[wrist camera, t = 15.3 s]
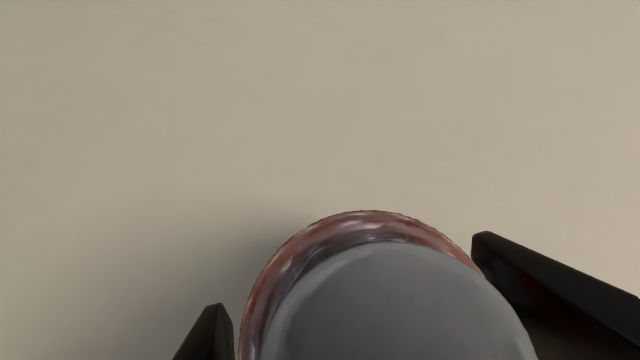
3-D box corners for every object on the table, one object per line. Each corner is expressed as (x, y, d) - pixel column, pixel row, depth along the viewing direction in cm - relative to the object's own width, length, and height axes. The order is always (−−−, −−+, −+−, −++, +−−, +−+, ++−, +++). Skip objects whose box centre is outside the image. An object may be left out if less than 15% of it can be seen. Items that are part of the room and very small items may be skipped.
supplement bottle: (415, 245, 16) (615, 197, 5) (409, 383, 14) (681, 750, 3) (292, 231, 16) (225, 157, 5) (274, 366, 15) (128, 661, 4)
